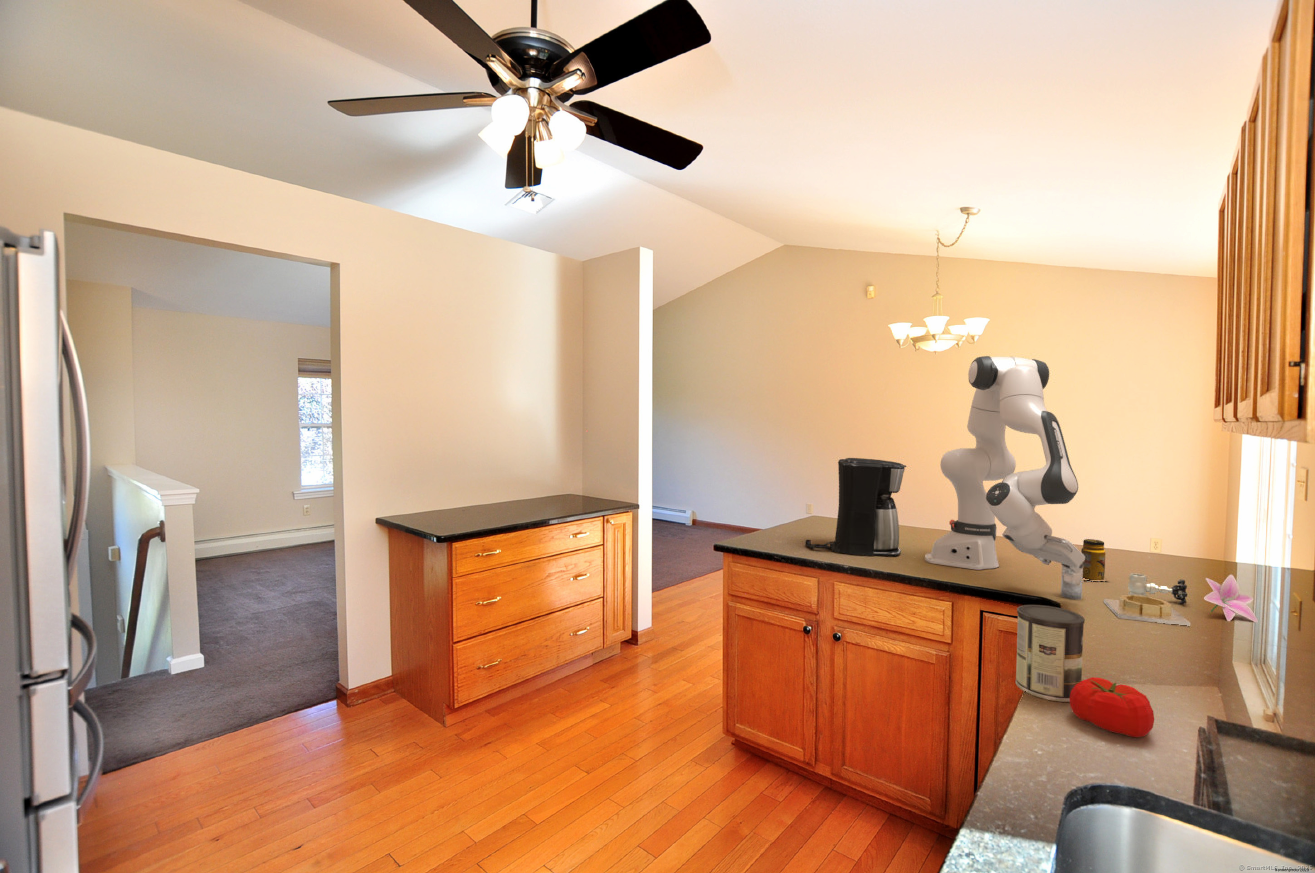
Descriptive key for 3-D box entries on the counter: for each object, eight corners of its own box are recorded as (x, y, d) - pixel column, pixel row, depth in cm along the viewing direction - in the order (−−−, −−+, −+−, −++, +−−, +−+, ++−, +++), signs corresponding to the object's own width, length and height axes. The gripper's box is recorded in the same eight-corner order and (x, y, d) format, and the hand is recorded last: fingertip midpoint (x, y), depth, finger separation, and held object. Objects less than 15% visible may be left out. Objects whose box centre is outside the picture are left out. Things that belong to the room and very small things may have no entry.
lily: (1192, 620, 153) (1214, 592, 148) (1182, 591, 162) (1203, 564, 157) (1250, 641, 148) (1275, 614, 143) (1236, 610, 158) (1259, 584, 153)
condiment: (1111, 582, 183) (1112, 543, 182) (1082, 581, 183) (1083, 542, 183) (1095, 576, 190) (1096, 538, 190) (1067, 575, 191) (1068, 537, 190)
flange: (1118, 617, 150) (1118, 604, 150) (1103, 602, 163) (1104, 589, 163) (1190, 626, 144) (1190, 612, 144) (1169, 609, 157) (1169, 596, 157)
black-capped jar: (1061, 598, 166) (1063, 564, 166) (1058, 593, 171) (1059, 560, 171) (1084, 600, 164) (1085, 566, 164) (1080, 595, 169) (1081, 562, 168)
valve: (1129, 600, 165) (1186, 607, 159) (1130, 576, 165) (1188, 582, 159) (1125, 594, 171) (1180, 601, 165) (1126, 571, 171) (1181, 577, 165)
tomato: (1079, 704, 105) (1080, 667, 105) (1160, 729, 97) (1161, 689, 96) (1061, 722, 98) (1062, 683, 98) (1146, 751, 90) (1148, 708, 90)
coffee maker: (915, 556, 214) (917, 461, 212) (830, 560, 207) (833, 462, 206) (878, 542, 236) (880, 456, 235) (801, 545, 229) (803, 457, 228)
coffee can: (1064, 679, 115) (1067, 605, 114) (1093, 705, 104) (1096, 624, 104) (1005, 674, 116) (1008, 602, 116) (1028, 699, 106) (1031, 620, 106)
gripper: (1072, 531, 154) (1103, 567, 157) (1011, 517, 175) (1039, 550, 177) (1056, 549, 154) (1087, 585, 156) (997, 533, 174) (1026, 566, 176)
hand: (1061, 566), depth 166 cm, fingers open, 8 cm apart
